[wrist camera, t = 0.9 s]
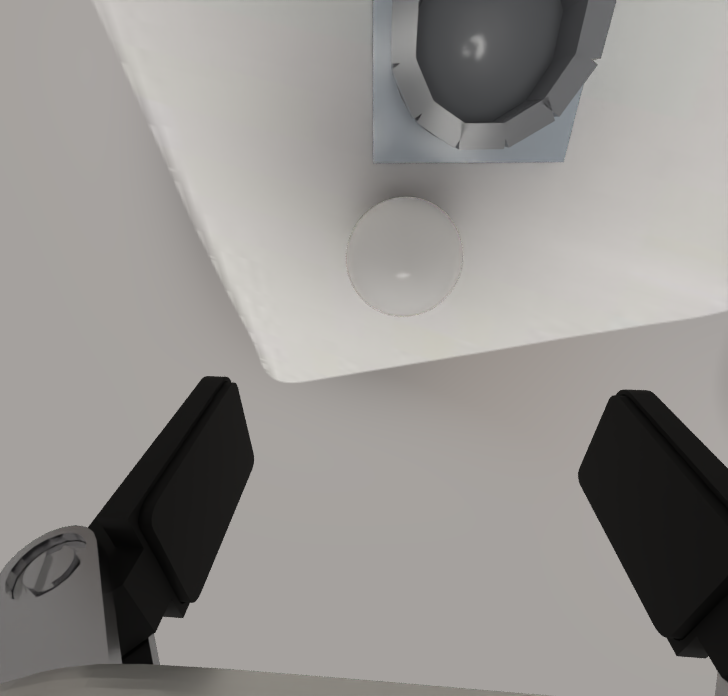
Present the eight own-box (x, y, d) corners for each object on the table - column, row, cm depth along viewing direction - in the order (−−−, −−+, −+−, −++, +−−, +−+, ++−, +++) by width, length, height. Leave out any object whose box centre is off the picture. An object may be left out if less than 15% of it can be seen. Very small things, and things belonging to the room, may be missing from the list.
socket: (374, -110, 18) (368, -173, 14) (627, -124, 17) (698, -196, 13) (373, 161, 25) (370, 171, 21) (557, 160, 24) (590, 170, 20)
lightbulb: (360, 265, 29) (344, 338, 19) (355, 176, 25) (332, 215, 16) (442, 263, 28) (466, 337, 19) (448, 172, 25) (481, 209, 15)
